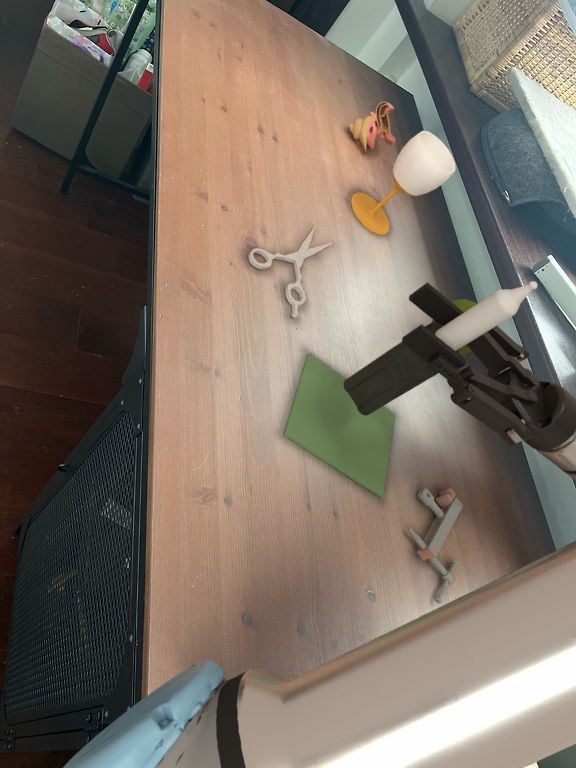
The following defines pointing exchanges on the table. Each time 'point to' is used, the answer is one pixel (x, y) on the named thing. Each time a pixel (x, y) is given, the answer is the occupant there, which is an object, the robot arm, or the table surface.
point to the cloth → (340, 427)
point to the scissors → (297, 260)
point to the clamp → (438, 532)
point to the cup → (408, 178)
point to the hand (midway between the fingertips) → (415, 311)
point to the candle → (410, 370)
